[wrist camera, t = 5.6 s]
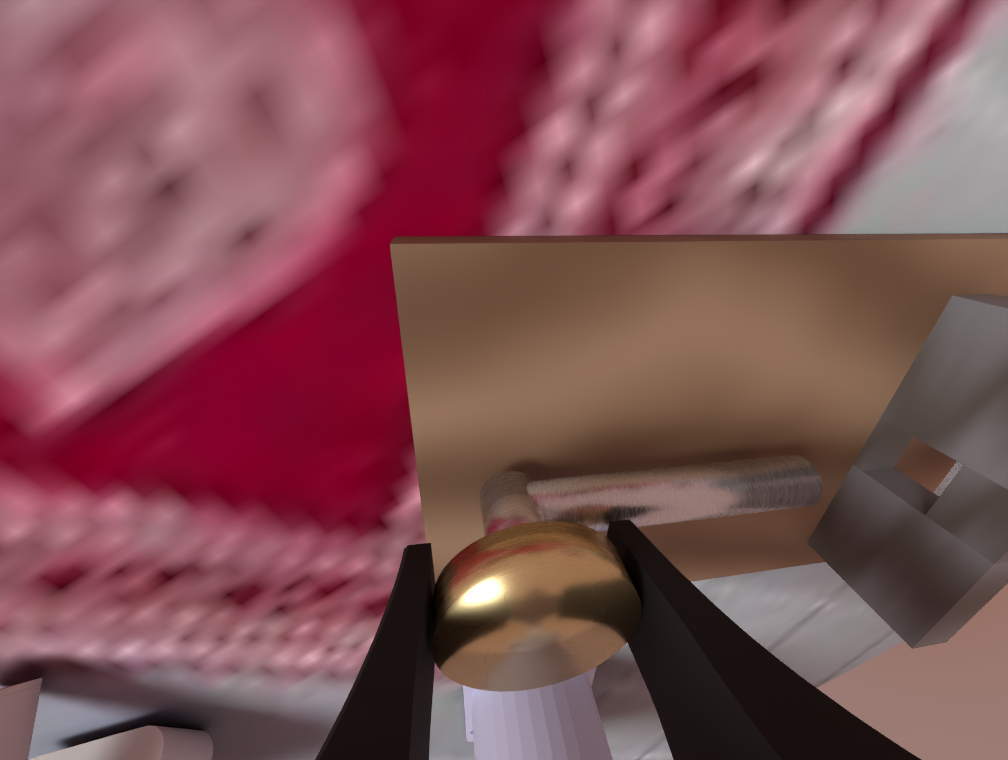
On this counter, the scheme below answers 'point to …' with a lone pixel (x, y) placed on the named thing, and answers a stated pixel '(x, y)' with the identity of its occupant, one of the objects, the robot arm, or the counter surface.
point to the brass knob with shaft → (578, 563)
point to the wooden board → (730, 393)
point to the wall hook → (125, 756)
